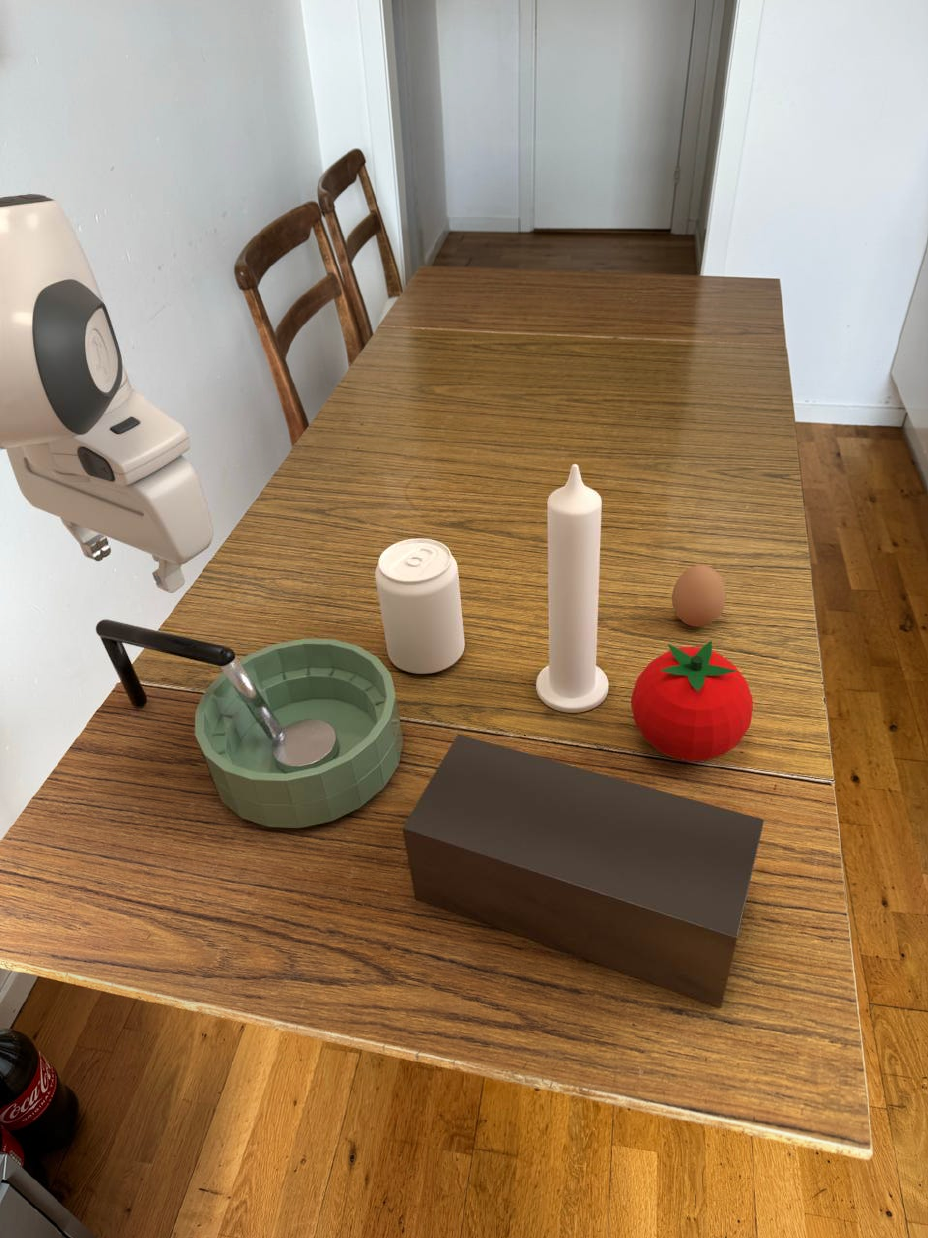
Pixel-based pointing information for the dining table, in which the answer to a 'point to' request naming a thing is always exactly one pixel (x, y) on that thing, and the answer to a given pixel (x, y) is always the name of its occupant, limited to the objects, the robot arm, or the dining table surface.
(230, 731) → the bowl
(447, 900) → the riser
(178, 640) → the black and silver ladle
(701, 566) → the egg
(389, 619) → the beverage can
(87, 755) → the dining table surface
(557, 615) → the candle
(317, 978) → the dining table surface
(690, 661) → the tomato
